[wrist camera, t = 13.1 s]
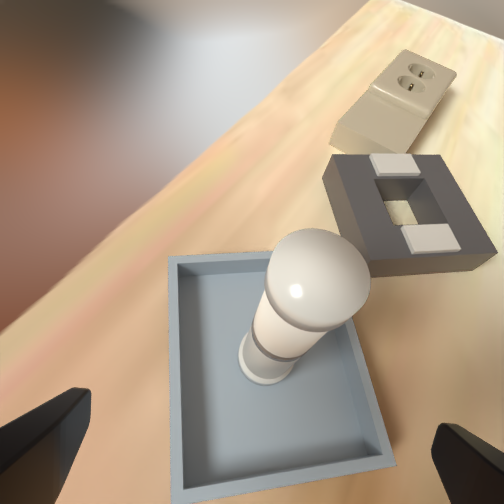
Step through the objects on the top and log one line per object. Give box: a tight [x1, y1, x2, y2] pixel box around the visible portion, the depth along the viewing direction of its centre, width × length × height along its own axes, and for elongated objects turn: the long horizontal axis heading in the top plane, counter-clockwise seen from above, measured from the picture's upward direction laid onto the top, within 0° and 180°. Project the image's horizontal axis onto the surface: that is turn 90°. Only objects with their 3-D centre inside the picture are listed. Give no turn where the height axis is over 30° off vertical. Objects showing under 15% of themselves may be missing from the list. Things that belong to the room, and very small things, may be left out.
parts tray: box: [168, 251, 397, 504], centre depth 22 cm, size 14×12×2 cm
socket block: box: [322, 153, 498, 278], centre depth 29 cm, size 11×11×3 cm
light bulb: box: [238, 229, 371, 386], centre depth 17 cm, size 4×4×12 cm
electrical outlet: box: [329, 50, 457, 155], centre depth 38 cm, size 7×4×18 cm
